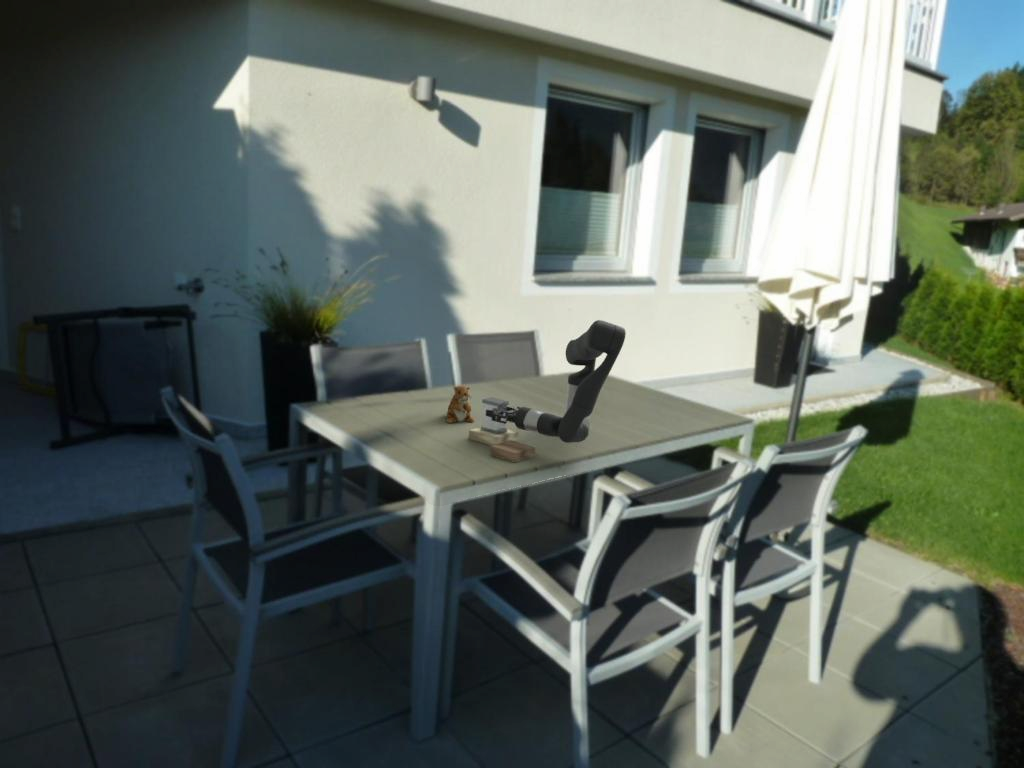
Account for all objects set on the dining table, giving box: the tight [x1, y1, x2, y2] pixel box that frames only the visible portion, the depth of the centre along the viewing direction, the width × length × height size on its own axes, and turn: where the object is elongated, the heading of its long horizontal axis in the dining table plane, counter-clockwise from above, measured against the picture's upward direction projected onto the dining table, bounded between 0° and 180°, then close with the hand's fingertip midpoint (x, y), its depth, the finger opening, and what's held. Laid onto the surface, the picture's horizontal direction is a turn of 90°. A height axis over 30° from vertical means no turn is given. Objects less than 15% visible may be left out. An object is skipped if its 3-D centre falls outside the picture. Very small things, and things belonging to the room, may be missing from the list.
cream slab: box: [468, 426, 519, 446], centre depth 261 cm, size 12×12×3 cm
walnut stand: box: [490, 440, 536, 463], centre depth 244 cm, size 10×10×3 cm
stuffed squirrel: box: [446, 385, 475, 424], centre depth 283 cm, size 10×14×13 cm
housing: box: [480, 396, 510, 435], centre depth 259 cm, size 5×8×11 cm, turn 51°
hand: (494, 410), depth 259 cm, fingers open, 8 cm apart
